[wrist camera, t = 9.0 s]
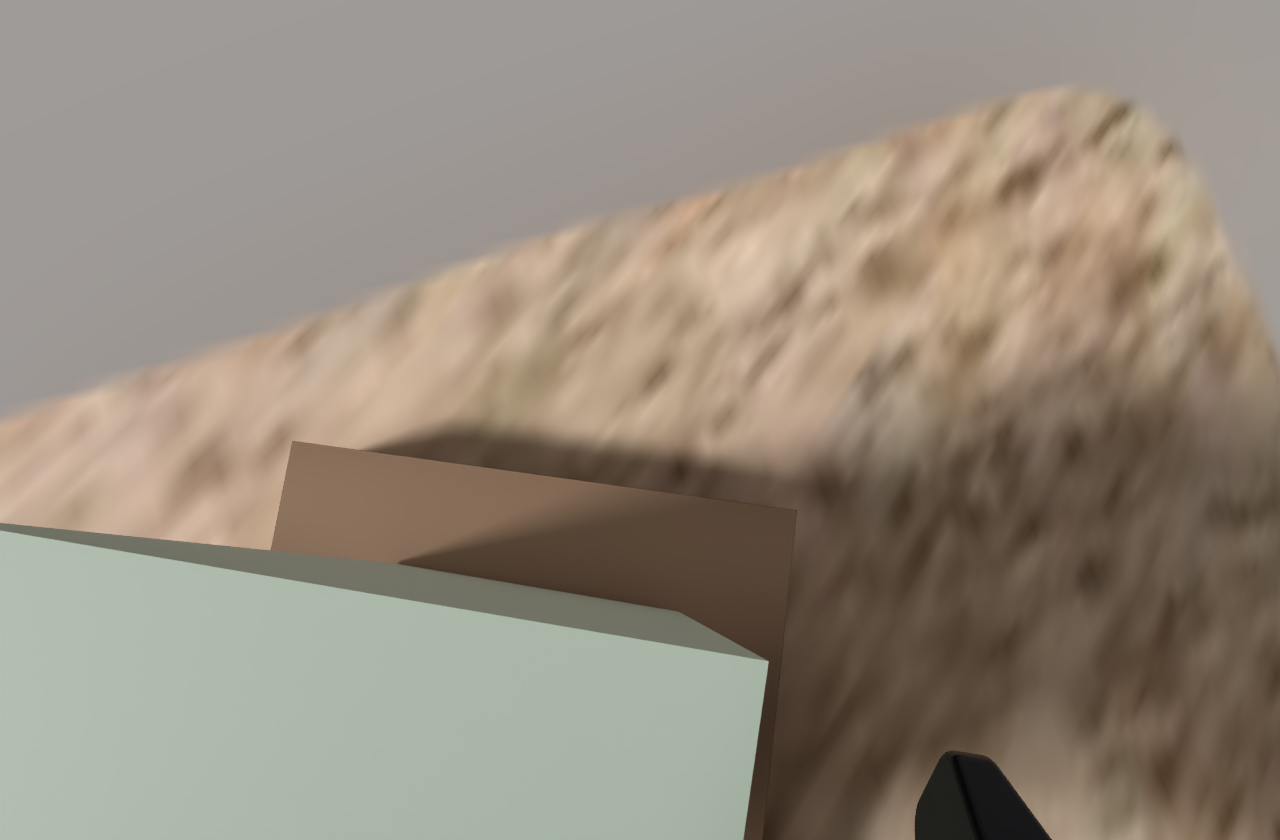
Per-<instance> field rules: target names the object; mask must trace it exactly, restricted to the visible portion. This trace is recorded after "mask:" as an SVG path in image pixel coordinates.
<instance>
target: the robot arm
mask: <svg viewBox="0 0 1280 840" xmlns="http://www.w3.org/2000/svg"><path fill="white" fill-rule="evenodd" d="M915 840H1052V839H1051V838H1050V837H1049V835H1048V834H1047V833H1046V831H1045V830H1044V829H1043V827H1042V826H1041V824H1040V823H1039V822H1038V820H1037V819H1036V818H1035V816H1034V815H1033V814H1032V812H1031V811H1030V809H1029V808H1028V807H1027V805H1026V804H1025V803H1024V801H1023V800H1022V799H1021V797H1020V796H1019V795H1018V793H1017V792H1016V790H1015V789H1014V788H1013V786H1012V785H1011V784H1010V782H1009V781H1008V780H1007V778H1006V777H1005V776H1004V774H1003V773H1002V771H1001V770H1000V769H999V767H998V766H997V765H996V764H995V763H994V762H993V761H992V760H991V759H990V758H988V757H986V756H983V755H978V754H972V753H966V752H959V751H948V752H946V753H945V754H943V755H942V757H941V758H940V760H939V762H938V764H937V766H936V768H935V770H934V772H933V774H932V776H931V778H930V779H929V781H928V783H927V785H926V787H925V789H924V791H923V793H922V795H921V797H920V800H919V802H918V805H917V809H916V815H915Z"/></svg>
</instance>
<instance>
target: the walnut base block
mask: <svg viewBox="0 0 1280 840" xmlns="http://www.w3.org/2000/svg"><path fill="white" fill-rule="evenodd" d="M796 514H797V510H790V509H782V508H775V507H768V506H761V505H753V504H746V503H739V502H732V501H724V500H717V499H710V498H703V497H695V496H688V495H681V494H674V493H666V492H659V491H652V490H645V489H637V488H630V487H623V486H616V485H608V484H601V483H594V482H587V481H579V480H572V479H565V478H558V477H550V476H543V475H536V474H529V473H521V472H514V471H507V470H500V469H492V468H485V467H478V466H471V465H463V464H456V463H449V462H442V461H434V460H427V459H420V458H413V457H405V456H398V455H391V454H384V453H376V452H369V451H362V450H355V449H347V448H340V447H333V446H326V445H319V444H311V443H304V442H297V441H292V445H291V451H290V456H289V461H288V466H287V471H286V476H285V481H284V486H283V491H282V496H281V501H280V506H279V511H278V516H277V521H276V526H275V532H274V537H273V542H272V547H271V551H279V552H289V553H299V554H308V555H318V556H328V557H338V558H348V559H357V560H367V561H377V562H387V563H395V564H401V565H407V566H413V567H418V568H424V569H430V570H436V571H442V572H448V573H454V574H460V575H466V576H472V577H477V578H483V579H489V580H495V581H501V582H507V583H513V584H519V585H525V586H531V587H537V588H542V589H548V590H554V591H560V592H566V593H572V594H578V595H584V596H590V597H596V598H601V599H607V600H613V601H619V602H625V603H631V604H637V605H643V606H649V607H655V608H660V609H666V610H672V611H678V612H680V613H682V614H684V615H686V616H688V617H689V618H691V619H693V620H695V621H697V622H698V623H700V624H702V625H704V626H706V627H708V628H709V629H711V630H713V631H715V632H717V633H718V634H720V635H722V636H724V637H726V638H727V639H729V640H731V641H733V642H735V643H736V644H738V645H740V646H742V647H744V648H746V649H747V650H749V651H751V652H753V653H755V654H756V655H758V656H760V657H762V658H764V659H765V660H767V661H769V663H768V670H767V677H766V684H765V691H764V698H763V705H762V712H761V719H760V726H759V733H758V740H757V747H756V754H755V761H754V768H753V775H752V782H751V789H750V796H749V803H748V810H747V817H746V824H745V831H744V838H743V840H763V830H764V821H765V811H766V802H767V792H768V783H769V773H770V763H771V754H772V744H773V735H774V725H775V715H776V706H777V696H778V687H779V677H780V668H781V658H782V648H783V639H784V629H785V620H786V610H787V601H788V591H789V581H790V572H791V562H792V553H793V543H794V534H795V524H796Z"/></svg>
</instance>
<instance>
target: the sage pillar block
mask: <svg viewBox="0 0 1280 840" xmlns="http://www.w3.org/2000/svg"><path fill="white" fill-rule="evenodd" d="M768 663H769V661H767V660H765V659H764V658H762V657H760V656H758V655H756V654H755V653H753V652H751V651H749V650H747V649H746V648H744V647H742V646H740V645H738V644H736V643H735V642H733V641H731V640H729V639H727V638H726V637H724V636H722V635H720V634H718V633H717V632H715V631H713V630H711V629H709V628H708V627H706V626H704V625H702V624H700V623H698V622H697V621H695V620H693V619H691V618H689V617H688V616H686V615H684V614H682V613H680V612H678V611H672V610H666V609H660V608H655V607H649V606H643V605H637V604H631V603H625V602H619V601H613V600H607V599H601V598H596V597H590V596H584V595H578V594H572V593H566V592H560V591H554V590H548V589H542V588H537V587H531V586H525V585H519V584H513V583H507V582H501V581H495V580H489V579H483V578H477V577H472V576H466V575H460V574H454V573H448V572H442V571H436V570H430V569H424V568H418V567H413V566H407V565H401V564H395V563H387V562H377V561H367V560H357V559H348V558H338V557H328V556H318V555H308V554H299V553H289V552H279V551H269V550H259V549H250V548H240V547H230V546H220V545H210V544H201V543H191V542H181V541H171V540H161V539H152V538H142V537H132V536H122V535H112V534H102V533H93V532H83V531H73V530H63V529H53V528H44V527H34V526H24V525H14V524H4V523H0V840H743V838H744V831H745V824H746V817H747V810H748V803H749V796H750V789H751V782H752V775H753V768H754V761H755V754H756V747H757V740H758V733H759V726H760V719H761V712H762V705H763V698H764V691H765V684H766V677H767V670H768Z"/></svg>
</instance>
